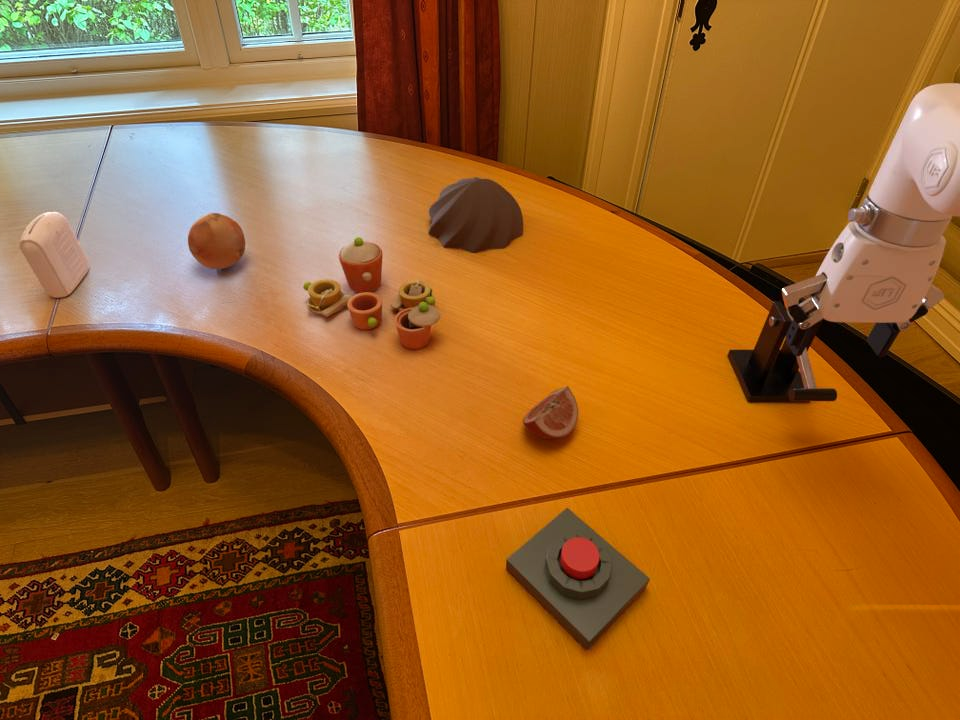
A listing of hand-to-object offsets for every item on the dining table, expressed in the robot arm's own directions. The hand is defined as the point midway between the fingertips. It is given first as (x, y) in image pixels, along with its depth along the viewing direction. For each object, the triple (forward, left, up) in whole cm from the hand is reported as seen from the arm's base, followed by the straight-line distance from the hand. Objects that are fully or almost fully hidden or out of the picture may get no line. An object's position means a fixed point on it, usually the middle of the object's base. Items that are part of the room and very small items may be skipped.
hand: (833, 348), depth 72 cm
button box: (+6, +37, -16) cm, 41 cm away
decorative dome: (+70, -5, -16) cm, 72 cm away
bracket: (+8, -8, -16) cm, 19 cm away
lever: (+4, -5, -8) cm, 10 cm away
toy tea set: (+60, +25, -16) cm, 67 cm away
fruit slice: (+23, +23, -16) cm, 36 cm away
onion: (+91, +39, -16) cm, 100 cm away
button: (+6, +37, -12) cm, 40 cm away
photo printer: (+104, +62, -16) cm, 122 cm away
